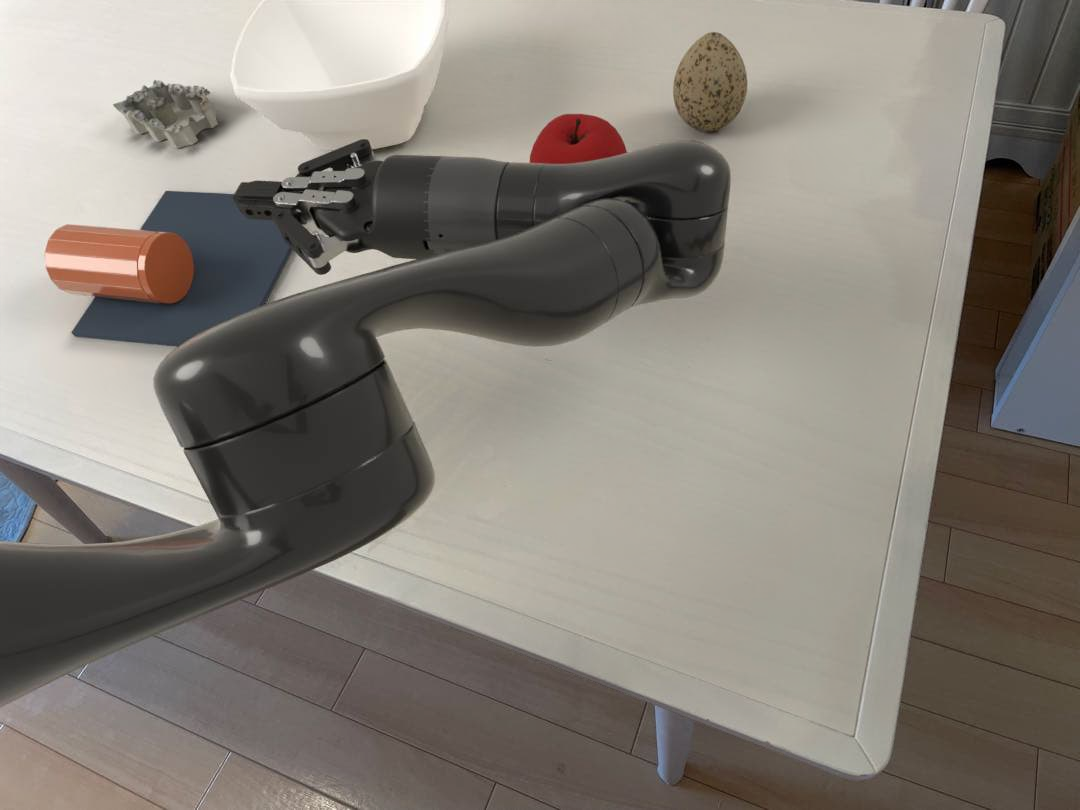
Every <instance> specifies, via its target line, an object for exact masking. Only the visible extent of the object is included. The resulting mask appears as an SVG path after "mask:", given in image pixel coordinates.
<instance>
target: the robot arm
mask: <svg viewBox="0 0 1080 810" xmlns="http://www.w3.org/2000/svg"><path fill="white" fill-rule="evenodd" d="M327 169H332V170H327ZM325 170H326V171H325ZM297 171H298V173H297V174H296V175H295V176H289V177H286V178H284V179H282V181H279V180H278V181H276V180H252V181H249V182H247V181H246V182H245V181H242V182H240V184H239V185H238V187H237V188H236V190H235V192H234V193H233V194H234V195H233V200H234V201H235V203H236V205H237V207H238V208H239V210H240V212H241V213H242V214H243V215H244V216H245V217H246V218H248V219H257V220H274V222H275V223H276V225H277V226H278V228H279V230H280V232H281V234H282V237H283V239H284V241H285V242H286V243H287V244H288V245H289V246H290V247H291V248H292V249H293V250H292V251H294V253H296V255H298V256H299V258H300V259H302V261H304V262H305V264H306V265H307V266H309V268H311V269H312V271H313V272H314V273H316V274H317V275H319V276H323V275H327V274H328V273H330V271H331V270H332V265H331V263H330V261H332V260H333V259H335V258H336V257H338V256H339V255H341V254H343V253H344V252H347V253H350V254H359V253H361V252H365V251H370V250H371V251H372V250H375V251H379V252H381V253H383V254H385V255H387V256H389V257H391V258H393V259H401V260H402V259H403V260H409V261H405V262H401V263H397V264H394V265H390V266H387V267H384V268H380V269H377V270H374V271H370V272H366V273H362V274H360V275H356V276H352V277H349V278H344V279H340V280H337V281H334V282H330V283H328V284H327V283H326V284H324V285H320V286H317V287H314V288H311V289H308V290H304V291H301V292H298V293H293V294H291V295H288V296H285V297H282V298H279V299H276V300H274V301H271V302H269V303H265V304H264V305H262V306H260V307H257V308H255V309H252V310H250V311H247V312H245V313H242V314H240V315H237V316H235V317H232V318H230V319H228V320H225V321H223V322H221V323H219V324H217V325H215V326H213V327H211V328H209V329H207V330H205V331H203V332H201V333H199V334H197V335H195V336H194V337H192V338H191V339H189V340H187V341H186V342H184V343H183V344H181V345H180V346H176V347H175V348H173V350H172V351H170V352H169V353H168V354H167V355H166V356H165V357H164V358H163V360H162V361H161V362H160V363H159V364H158V366H157V368H156V369H155V372H154V375H153V378H152V381H153V383H152V384H153V385H152V387H153V390H154V394H155V397H156V399H157V402H158V404H159V407H160V409H161V412H162V414H163V415H164V417H165V419H166V421H167V423H168V425H169V426H170V429H171V431H172V433H173V435H174V436H175V438H176V441H177V443H178V445H179V446H180V448H182V449H183V454H184V456H185V458H186V459H187V461H188V463H189V465H190V467H191V470H192V471H193V472H194V474H195V476H196V478H197V480H198V482H199V484H200V485H201V488H202V490H203V491H204V494H205V496H206V497H207V499H208V501H209V503H210V505H211V507H212V509H213V511H214V512H215V514H216V516H217V519H214V520H212V521H209V522H205V523H202V524H200V525H196V526H192V527H188V528H184V529H180V530H176V531H173V532H168V533H165V534H159V535H154V536H149V537H142V538H137V539H131V540H130V539H129V540H125V541H115V542H101V543H100V542H99V543H64V544H63V543H61V544H60V543H38V542H22V541H11V540H0V708H1V709H2V707H4V706H6V705H9V704H10V703H12V702H15V701H16V700H19V699H21V698H22V697H24V696H26V695H29V694H30V693H33V692H34V691H37V690H39V689H41V688H42V687H45V686H46V685H48V684H51V683H52V682H54V681H56V680H59V679H60V678H63V677H65V676H66V675H69V674H71V673H73V672H75V671H77V670H79V669H81V668H83V667H86V666H88V665H90V664H91V663H95V662H96V661H99V660H101V659H103V658H106V657H108V656H110V655H112V654H114V653H117V652H119V651H121V650H123V649H125V648H129V647H130V646H133V645H136V644H137V643H140V642H142V641H144V640H147V639H149V638H151V637H154V636H156V635H159V634H161V633H163V632H166V631H168V630H171V629H174V628H175V627H178V626H181V625H183V624H185V623H188V622H191V621H193V620H195V619H197V618H200V617H202V616H204V615H207V614H210V613H212V612H214V611H217V610H219V609H222V608H225V607H226V606H230V605H231V604H234V603H237V602H239V601H242V600H244V599H246V598H249V597H251V596H253V595H256V594H259V593H260V592H264V591H265V590H268V589H271V588H273V587H275V586H278V585H280V584H283V583H285V582H287V581H290V580H293V579H294V578H297V577H299V576H302V575H304V574H306V573H308V572H311V571H313V570H316V569H318V568H321V567H322V566H324V565H327V564H330V563H332V562H334V561H336V560H338V559H341V558H343V557H344V556H346V555H348V554H351V553H353V552H354V551H357V550H358V549H360V548H363V547H364V546H366V545H368V544H370V543H372V542H374V541H375V540H377V539H380V538H381V537H383V536H384V535H386V534H388V533H389V532H391V531H392V530H394V529H395V528H396V527H398V526H400V525H401V524H402V523H404V522H405V521H407V520H408V519H409V518H410V517H412V516H413V515H414V514H415V513H416V512H417V511H418V510H420V509H421V507H422V506H423V505H424V504H425V503H426V502H427V500H428V499H429V497H430V496H431V494H432V492H433V490H434V487H435V483H436V473H435V470H434V466H433V462H432V460H431V457H430V456H429V452H428V450H427V448H426V446H425V443H424V441H423V440H422V437H421V434H420V431H419V430H418V428H417V425H416V423H415V421H414V420H413V417H412V414H411V412H410V410H409V408H408V406H407V402H406V401H405V399H404V397H403V394H402V392H401V390H400V387H399V385H398V383H397V381H396V379H395V376H394V374H393V372H392V370H391V368H390V365H389V363H388V361H387V359H385V358H386V356H385V353H384V351H383V349H382V347H381V345H380V343H379V341H378V339H377V338H379V337H381V336H384V335H388V334H391V333H395V332H400V331H408V330H417V329H418V330H420V329H421V330H422V329H423V330H437V331H445V332H453V333H459V334H463V335H469V336H474V337H478V338H482V339H487V340H490V341H495V342H500V343H505V344H511V345H516V346H521V347H529V348H537V347H539V348H541V347H554V346H559V345H563V344H564V345H565V344H567V343H570V342H573V341H575V340H579V339H580V338H582V337H585V336H587V335H588V334H591V333H592V332H593V331H596V330H597V329H599V328H601V327H602V326H604V325H605V324H608V322H610V321H612V320H613V319H615V318H616V317H618V316H620V315H621V314H623V313H625V312H626V311H628V310H629V309H631V308H633V307H637V306H641V305H646V304H649V303H650V304H651V303H655V302H656V303H657V302H659V301H665V300H667V301H668V300H675V299H685V298H691V297H695V296H698V295H700V294H702V293H703V292H705V291H706V290H708V289H709V287H711V285H712V284H713V283H714V281H715V280H716V278H717V277H718V275H719V273H720V272H721V269H722V265H723V261H724V255H725V244H726V243H725V242H726V232H727V221H728V212H729V203H730V195H731V194H730V193H731V183H732V174H731V173H732V172H731V167H730V164H729V161H728V160H727V159H726V157H725V156H724V155H723V154H722V153H721V152H719V150H717V149H715V148H714V147H712V146H711V145H709V144H706V143H704V142H700V141H697V140H690V139H679V140H671V141H667V142H661V143H657V144H654V145H650V146H646V147H643V148H639V149H635V150H633V151H629V152H628V151H627V153H624V154H620V155H616V156H612V157H607V158H602V159H597V160H591V161H585V162H578V163H568V164H545V163H530V162H518V161H517V162H513V161H511V162H510V161H501V160H496V159H491V158H485V157H474V156H452V155H451V156H450V155H449V156H448V155H445V156H444V155H420V154H419V155H418V154H417V155H415V154H392V155H389V156H387V157H386V158H385V159H383V160H381V159H380V160H377V158H376V157H375V154H374V150H373V149H372V148H371V145H370V142H369V141H368V140H367V139H361V140H358V141H356V142H353V143H351V144H349V145H346V146H344V147H341V148H339V149H336V150H330V151H329V152H327V153H324V154H321V155H319V156H316V157H314V158H312V159H309V160H307V161H305V162H304V161H303V162H302V163H300V164H299V165H298V166H297Z"/></svg>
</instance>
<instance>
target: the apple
mask: <svg viewBox="0 0 1080 810" xmlns="http://www.w3.org/2000/svg"><path fill="white" fill-rule="evenodd" d="M624 153H628V150H627V147H626V144H625V142H624V140H623V137H622V135H620V133H619V132H618V130H617V129H616V127H615V126H613V125H612V124H611V123H610V122H609V121H608V120H606V119H604V118H601V117H600V116H596V115H591V114H587V113H586V114H585V113H564V114H561V115H559V116H556V117H555V118H553V119H552V120H550V121H549V122H548V123H547V124H546V125H545V126H544V127H543V128H542V129H541V131H540V132H539V134H538V135H537V137H536V139H535V141H534V143H533V145H532V149H531V151H530V155H529V163H545V164H568V163H578V162H585V161H591V160H597V159H602V158H607V157H612V156H616V155H620V154H624Z"/></svg>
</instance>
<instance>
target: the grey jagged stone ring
mask: <svg viewBox="0 0 1080 810" xmlns="http://www.w3.org/2000/svg"><path fill="white" fill-rule="evenodd" d="M210 95H211V91H209V89H208V88H205V87H204V86H200V85H193V86H191V85H183V84H181V83H172V84H171V83H167V84H165V83H164V82H163V80H156V79H154V80H153V82H152V85H151V86H150V87H147V86H146V85H145V84H144V85H142V87H141V89H140V90H136V91H134V92H133V93H132V94H130V95H126V98H125V99H124V100H122V101H119V102H116V103H113V104H112V107H114V108H115V109H116V110H117V111H118V112H119V113H120V114H122V115H123V116H124V118H125V121H127V122H128V124H129V126H130V128H131V129H132V130H133V132H134V133H135V134H136V135H139V136H141V135H143V134H146V133H149V135H150V136H151V138H152V140H153V141H155V142H157V143H160V142H162V141H164V140H167V141H168V142H169V144H170V145H171V147H172V148H174V149H176V150H177V149H181V148H183V147H186V146H193V145H194V144H195V143H197V142H199V139H198V137H197V136H198V134H199V133H200V132H201V131H203V130H206V129H214V128H215V127H216V126H218V125H219V122H218V120H217V118H218V114H217V111H216V108H215V107H214V105H213V102H212V101H211V100H210V99H209V96H210Z"/></svg>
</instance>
